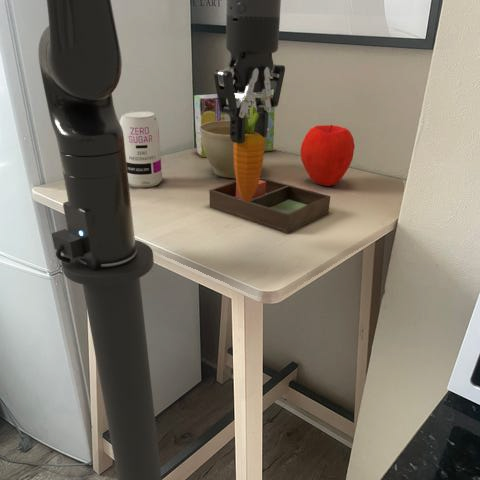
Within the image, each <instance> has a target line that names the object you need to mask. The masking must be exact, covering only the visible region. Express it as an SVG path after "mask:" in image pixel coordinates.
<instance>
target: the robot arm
mask: <svg viewBox="0 0 480 480" xmlns="http://www.w3.org/2000/svg"><path fill="white" fill-rule="evenodd" d="M46 6H47V16H48V17H47V18H48V26H47V27H46V28H45V29H44V30H43V32H42V34H41V36H40V39H39V42H38V50H37V51H38V53H37V54H38V63H39V69H40V75H41V79H42V86H43V91H44V95H45V99H46V104H47V109H48V110H47V111H48V114H49V120H50V123H51V126H52V129H53V132H54V135H55V138H56V144H57V148H58V153H59V158H60V164H61V169H62V175H63V181H64V185H65V186H64V187H65V191H66V197H67V201H64V202H63V204H62V206H63V212H64V219H65V223H66V228H64V229H60V230H58V231H54V232H51V239H52V243H53V247H54V250H56V251H55V256H56V258H57V259H58V260H59V261H60V262H61V261H64V262H67V263H69V262H70V261H71V260H70V259H69V258H67V257H63V255H64V254H65V255H67V256H69V257H71V258H73V260H75V261H77V262H79V263H80V264H82V265H84V266H86V267H88V268H90V269H92V270H94V271H97V270H100V269H107V268H115V267H119V266H123V265H125V264H128V263H130V262H131V261H133V260H134V259H135V258H136V256H137V249H136V245H135V240H136V237H135V227H134V219H133V211H132V201H131V192H130V191H131V190H130V184H129V182H128V173H127V164H126V154H125V144H124V135H123V130H122V127H121V125H120V123H119V122H120V120H119V118H118V117H117V113H116V110H115V104H114V99H113V93H114V92H115V90H116V88H117V87H118V85H119V82H120V80H121V76H122V70H123V69H122V68H123V59H122V51H121V47H120V46H121V45H120V40H119V36H118V35H119V34H118V31H117V26H116V21H115V16H114V11H113V10H114V9H113V5H112V0H46ZM281 7H282V0H226V9H225V11H226V22H225V23H226V25H225V27H226V28H225V49H226V50H227V51H228V52H229V54H230V59H229V61H228V65H227V67H225V68H224V69H215V70H214V72H213V80H214V83H215V85H214V86H215V90H216V94H217V97H218V103H219V109H220V112H221V113H226V114H228V115H229V116H230V137H231V140H232V142H235V143H239V144H240V143H244V141H245V118H243V117H244V115H245V112H246V107H247V103H248V102H250V101H251V98H253V101H254V107H255V108H256V110H257V111H256V112H257V113H258V114H259V117H258V119H257V121H256V123H255V127H254V132H257V133H259V134H260V135H262V136H263V138H264V137H266V136H267V130H268V114H269V112H270V111H271V108H272V107H275V108H277V107H278V106H279V103H280V97H281V92H282V88H283V83H284V78H285V72H286V66H285V65H283V64H275V63H274V59H273V54H274V53H276V52H277V51H278V50H279V39H280V25H281V24H280V23H281V20H280V19H281ZM272 90H273V91H272ZM238 93H243V94H238ZM272 93H273V98H270V96H271V95H272ZM226 98H227V100H228V105H227V103H226ZM261 99H262V101H261ZM239 100H240V104H239V108H237V102H238V101H239Z"/></svg>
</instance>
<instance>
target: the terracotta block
mask: <svg viewBox="0 0 480 480" xmlns="http://www.w3.org/2000/svg"><path fill="white" fill-rule="evenodd" d="M264 194H266V181H262V180H259V183H258V186H257V189H256V191H255V193H254V195H253V197H252V198H251V199H254V198H256V197H259V196H262V195H264ZM236 197H237V198H240V199H243V198H242V196H241V194H240V192H239V189H238V186H237V182H236Z"/></svg>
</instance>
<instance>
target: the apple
mask: <svg viewBox="0 0 480 480" xmlns="http://www.w3.org/2000/svg"><path fill="white" fill-rule="evenodd" d="M299 152H300V159H301V162H302V165H303V168H304V169H305V171H306V173H307V175H308V176H309V179H310V180H311V181H312V182H313V183H314V184H317V185H320V186H322V187H323V186H324V187H329V186H335V185H337V184H338V183H339V182H340V180H342V179H343V177H344V176H345V175H346V173H347V171H348V170H349V168H350V165H351V164H352V161H353V159H354V152H355V140H354V136H353V135H352V132H351V131H350V130H349V129H348V128H346V127H343V126H339V125H333V124H321V125H315V126H313V127H311V128H310V129H308V131H307V132H306V134H305V136H304V138H303V140H302V142H301V146H300V151H299Z"/></svg>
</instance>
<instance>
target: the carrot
mask: <svg viewBox="0 0 480 480" xmlns="http://www.w3.org/2000/svg"><path fill="white" fill-rule="evenodd" d="M258 117H259V114H258V113H257V112H256V108H255V107H250V120H248V117H247V115H246V113H245V115H244V117H243V118H245V141H244V143H240V144H239V143H235V142H233V155H234V170H235V177H236V178H235V181H236V182H237V186H238V189H239V192H240V194H241V196H242V198H243V200H244V201H245V202H246V203H248V202H249V201H250V200H251V198H252V197H253V195H254V193H255V191H256V189H257V186H258V183H259V179H260V177H261V175H262V170H263V166H264V165H263V164H264V155H265V154H264V153H265V151H264V144H265V143H264V138H263V136H262V135H260V134H259V133H257V132H254V127H255V123H256V121H257V119H258Z"/></svg>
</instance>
